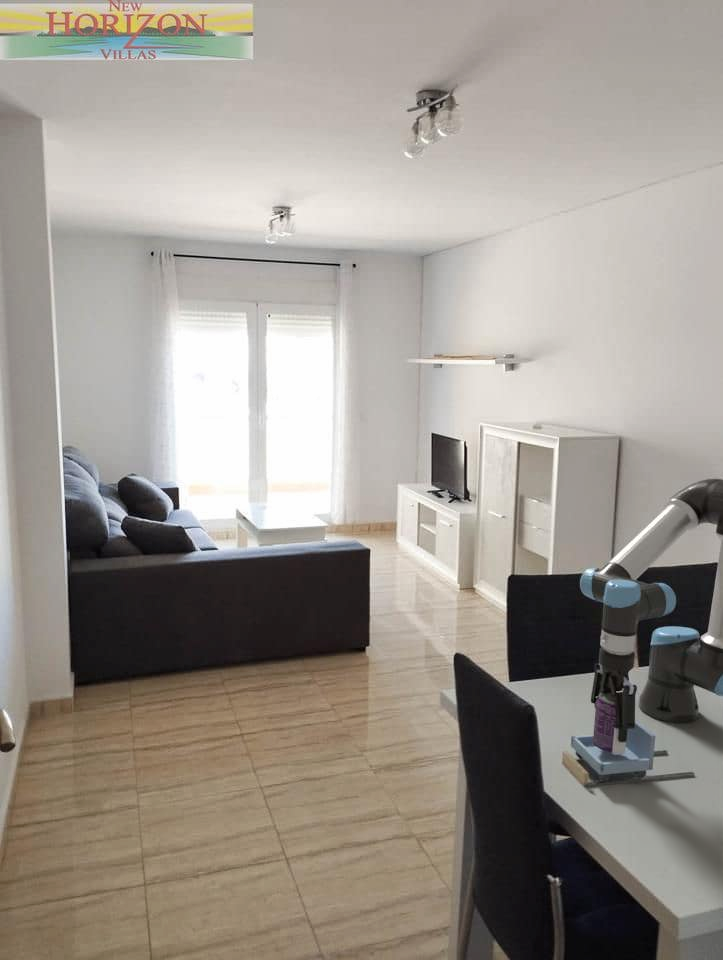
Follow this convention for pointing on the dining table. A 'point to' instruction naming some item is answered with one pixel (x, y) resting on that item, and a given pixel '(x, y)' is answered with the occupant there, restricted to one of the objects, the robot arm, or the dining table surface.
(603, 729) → the beverage can
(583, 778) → the track
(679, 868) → the dining table surface
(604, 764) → the pale blue open box
